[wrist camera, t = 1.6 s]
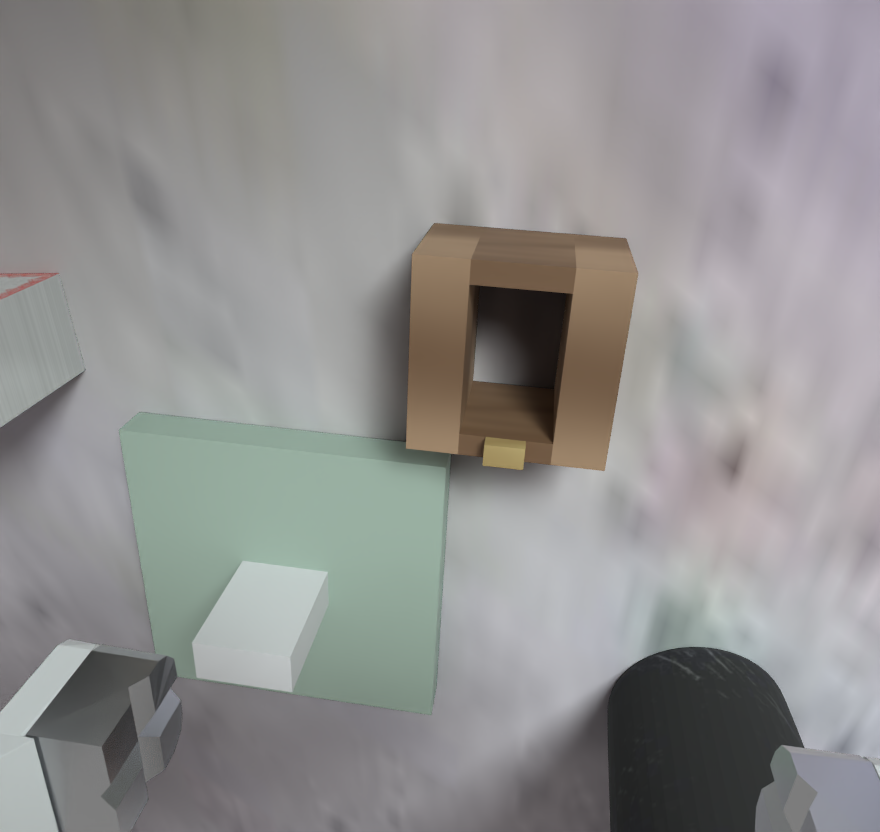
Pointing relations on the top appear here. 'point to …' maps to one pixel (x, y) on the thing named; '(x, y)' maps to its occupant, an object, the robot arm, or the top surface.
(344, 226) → the top surface
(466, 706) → the top surface
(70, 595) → the top surface
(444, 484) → the base
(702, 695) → the travel mug
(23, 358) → the white boxy piece
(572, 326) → the open wooden frame
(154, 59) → the top surface
